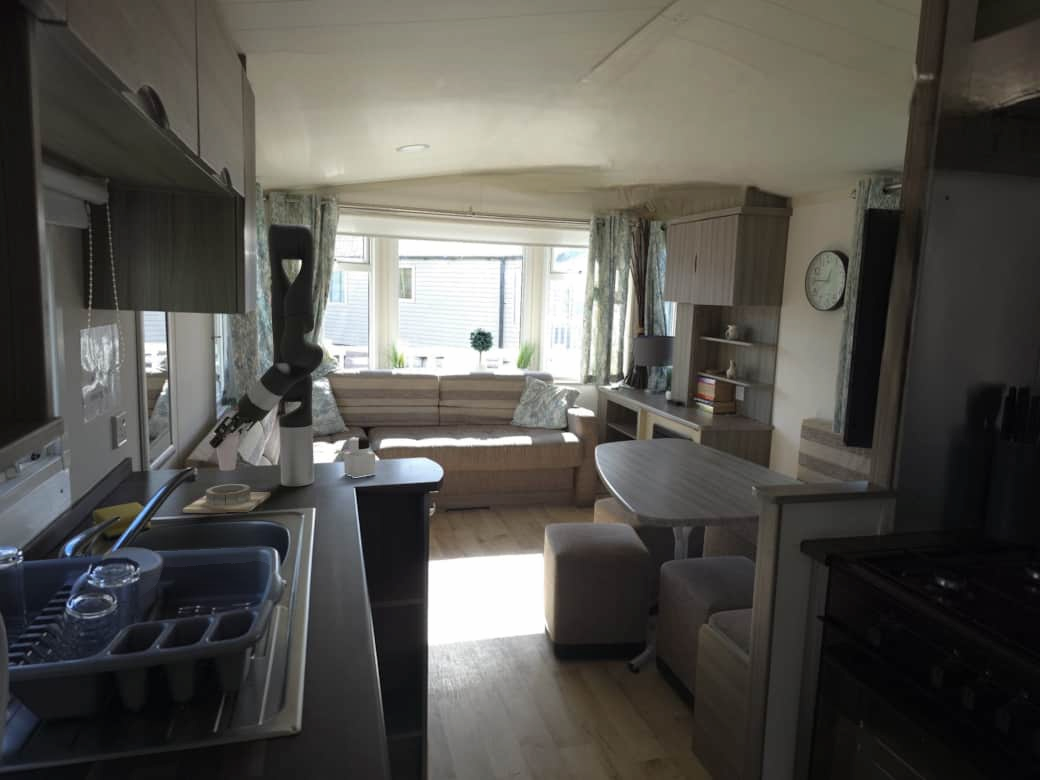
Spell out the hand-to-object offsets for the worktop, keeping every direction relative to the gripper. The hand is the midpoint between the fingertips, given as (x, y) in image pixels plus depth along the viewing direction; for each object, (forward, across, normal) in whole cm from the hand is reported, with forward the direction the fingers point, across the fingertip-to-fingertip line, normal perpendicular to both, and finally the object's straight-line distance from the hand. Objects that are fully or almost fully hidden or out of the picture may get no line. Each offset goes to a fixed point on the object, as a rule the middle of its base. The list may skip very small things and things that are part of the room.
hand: (220, 443), depth 173 cm
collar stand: (+10, 0, +12) cm, 16 cm away
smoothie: (+4, 0, +6) cm, 7 cm away
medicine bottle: (-4, -36, +27) cm, 46 cm away
